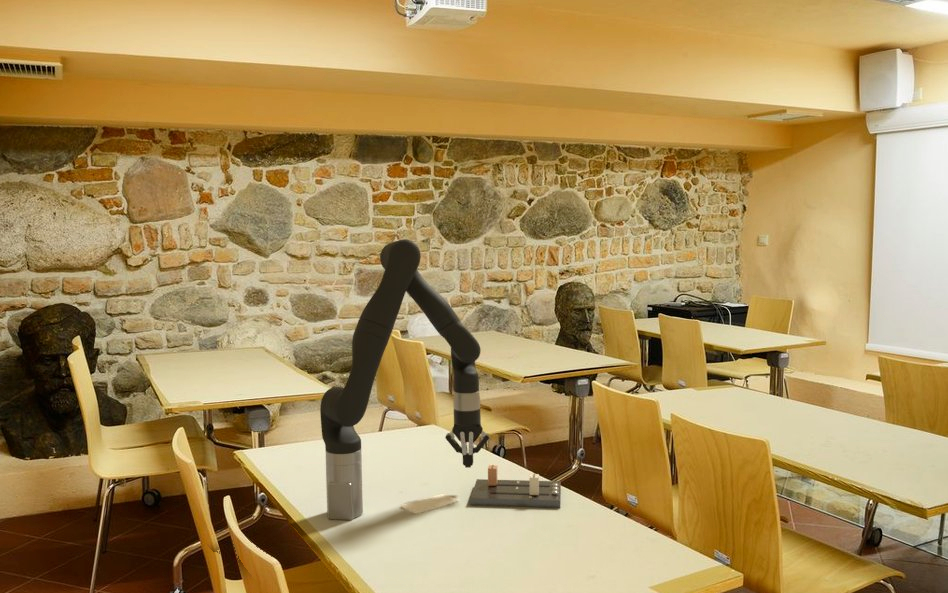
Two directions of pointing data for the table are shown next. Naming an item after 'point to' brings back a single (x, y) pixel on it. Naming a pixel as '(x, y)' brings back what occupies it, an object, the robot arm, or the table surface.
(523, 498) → the console
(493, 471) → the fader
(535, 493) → the fader
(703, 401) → the table surface
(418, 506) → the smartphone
